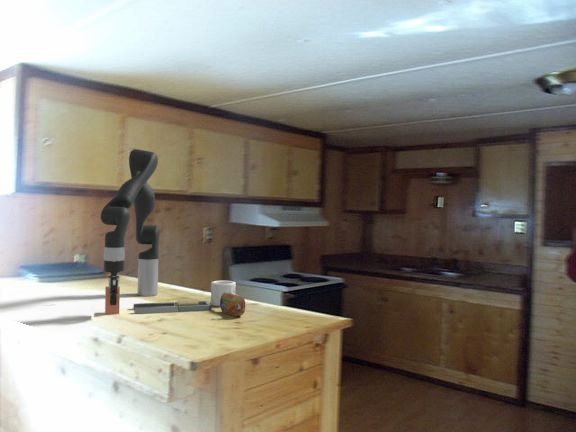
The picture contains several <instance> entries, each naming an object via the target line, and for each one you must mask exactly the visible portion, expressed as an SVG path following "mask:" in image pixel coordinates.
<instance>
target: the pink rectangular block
mask: <svg viewBox="0 0 576 432" xmlns="http://www.w3.org/2000/svg"><path fill="white" fill-rule="evenodd" d="M104 289H105V291H104V292H105V294H104V295H105V297H104V299H105V300H104V301H105V302H104V307H105V308H104V314H105V315H106V316H107V315H120V298H121V297H120V295H121V294H120V291H121V288H120V286H119V288H118V289H117V292H118V293H117V300H116V305H110V289H109V286H105V288H104ZM112 291H116V289H112Z"/></svg>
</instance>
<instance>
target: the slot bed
mask: <svg viewBox="0 0 576 432" xmlns="http://www.w3.org/2000/svg"><path fill="white" fill-rule="evenodd" d="M132 306H133V307H132V308H133V311H134V314H135V315H139V314H141V315H142V314H159V313H160V314H162V313H163V314H165V313H179V312H178V307H177V306H175V302H174V301H170V302H169V301H168V302H144V303H143V302H140V303H133V305H132Z"/></svg>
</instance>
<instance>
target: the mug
mask: <svg viewBox="0 0 576 432" xmlns="http://www.w3.org/2000/svg"><path fill="white" fill-rule="evenodd" d="M236 284H237V283H236V282H235V281H232V280H215V281H211V283H210V304H211V305H212V306H214V307H220V299H221V296H222V295H223V294H224V293H232V294H236V286H237V285H236ZM220 308H221V307H220Z"/></svg>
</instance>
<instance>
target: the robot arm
mask: <svg viewBox="0 0 576 432" xmlns="http://www.w3.org/2000/svg"><path fill="white" fill-rule="evenodd" d="M128 164H129V171H130V177H131V178H130V179H128V180H126V181H125V182H124V183H123V184H122V185H121V186H120V187H119V189H118V191H117V193H116V194H115V196H114V197H113V198H111V200H109V202H108V203H106V205H105V206H104V207H102V210H101V213H100V220H101V222H102V223H103V224H104V225H107V226H116V227H115V228H114V230H111V231H108V232H106V233H105V237H104V249H103V268H102V269H103V272H105V273H110V274H109V275H108V276H107V281H108V287H109V289H110V305H116V300H117V293H118V292H117V289H118V288H119V287H120V284H119V283H120V275H118V273H122V272H125V262H126V261H125V257H126V253H125V237H126V232H127V229H128V226H129V222H130V219H131V214H130V212H129V210H128V209H130V208H131V206H132V205H133V206H134V216H135V239H136V242H137V244H139V245H149V246H150V245H151V247H150V248H148V249H145V250H144V251H141V252H139V253H138V262H137V263H138V265H137V296H141V297H151V296H156V295H158V285H159V254H160V253H159V251H160V250H159V249H160V248H159V247H160V246H159V245H160V238H161V237H160V235H161V234H160V233H161V232H160V231H161V230H160V227H159V226H158V225H155V224H154V225H152V224H151V225H149V224H147V225H146V224H145V221H146V219H147V218H148V217H149V216H150V215H151V214H152V212H153V211H154V210H155V207H156V198H155V195H156V194H155V192H154V190H153V188H152V187H151V185H150V184H149V183H148V180H149V179H150V178H151V177H152V175H153V174H154V173H155V171H156V169H157V167H158V165H159V157H158V154H157V152H154V151H150V150H144V149H137V148H133V149H132V150H131V151H130V153H129V156H128ZM144 224H145V225H144ZM112 289H116V291H112Z"/></svg>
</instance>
